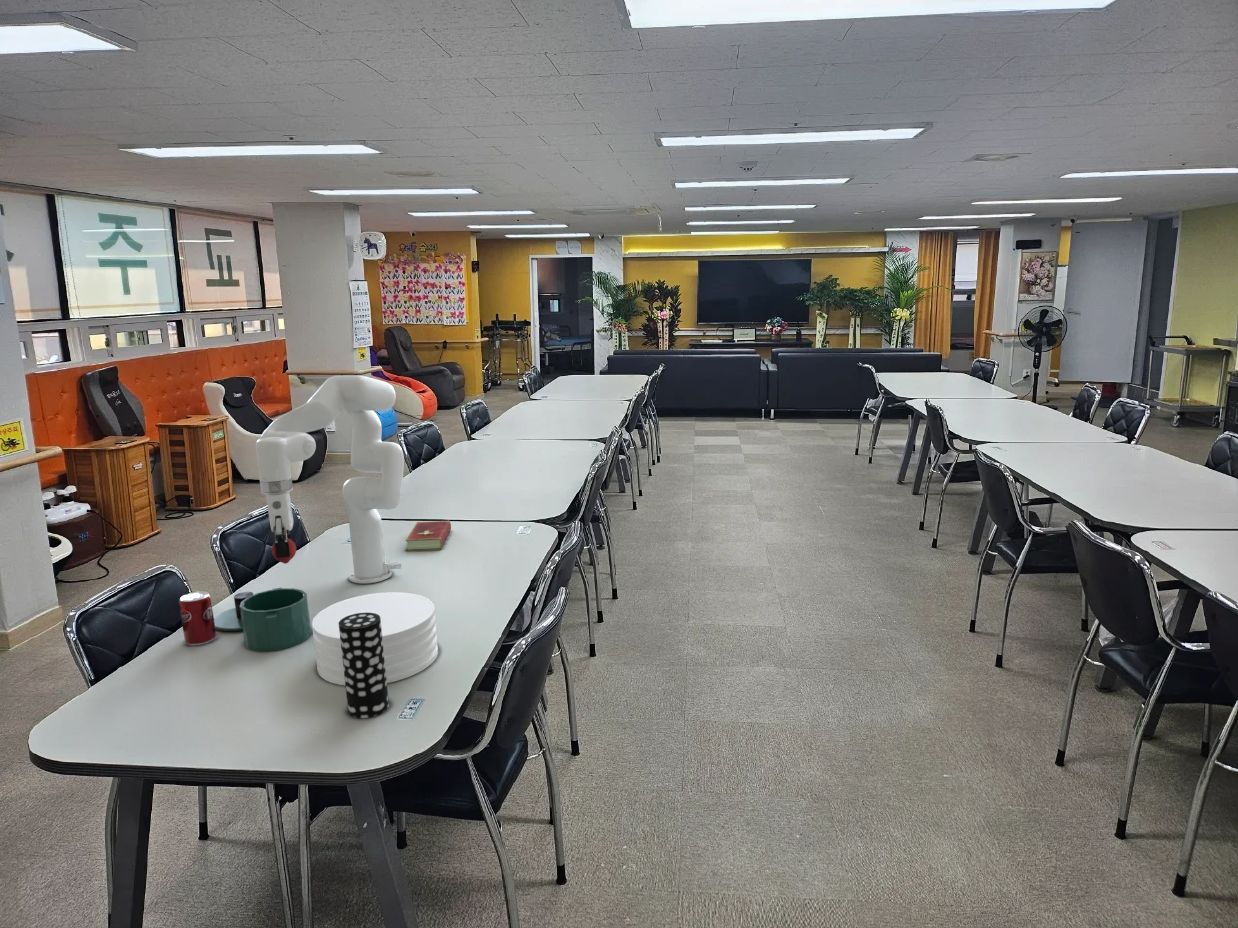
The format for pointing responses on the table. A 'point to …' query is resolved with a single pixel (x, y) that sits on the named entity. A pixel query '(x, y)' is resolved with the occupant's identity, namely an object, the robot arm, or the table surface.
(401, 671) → the plate stack
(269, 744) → the table surface
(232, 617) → the lid
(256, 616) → the pot
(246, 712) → the table surface
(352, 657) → the white-spotted black cylinder
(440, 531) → the hardcover book
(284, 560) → the onion
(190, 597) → the soda can
